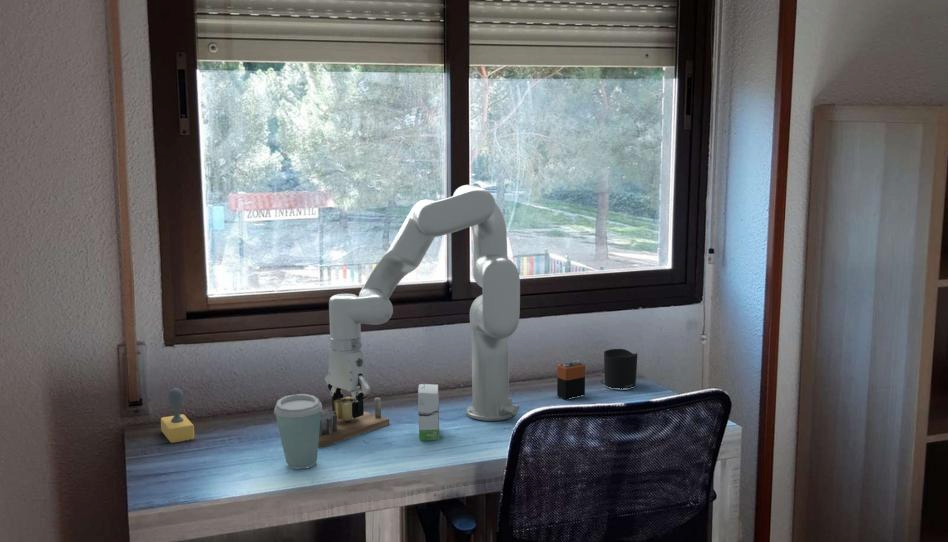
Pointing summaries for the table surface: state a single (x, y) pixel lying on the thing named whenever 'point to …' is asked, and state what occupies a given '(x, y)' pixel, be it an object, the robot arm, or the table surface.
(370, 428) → the gear board
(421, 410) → the ink box
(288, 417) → the disposable coffee cup
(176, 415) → the rubber stamp
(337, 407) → the brass gear
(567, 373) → the battery
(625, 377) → the pen holder
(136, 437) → the table surface
